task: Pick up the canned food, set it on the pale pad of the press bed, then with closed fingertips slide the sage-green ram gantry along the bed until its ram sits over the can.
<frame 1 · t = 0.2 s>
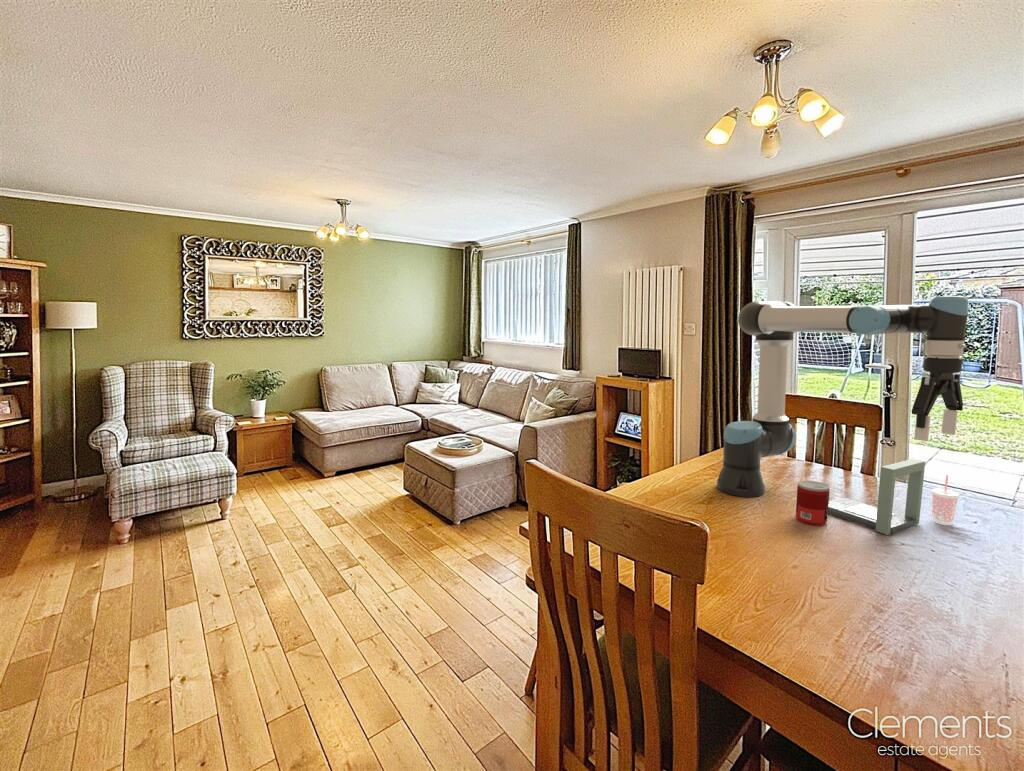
hand: (934, 437, 132), 28 cm above the table, fingers open, 13 cm apart
ram gantry: (900, 495, 139), point 9 cm above the table, slide at 0.0 cm
canned food: (811, 521, 147), on the table
press bed: (865, 517, 148), on the table
beverage cup: (942, 522, 144), on the table
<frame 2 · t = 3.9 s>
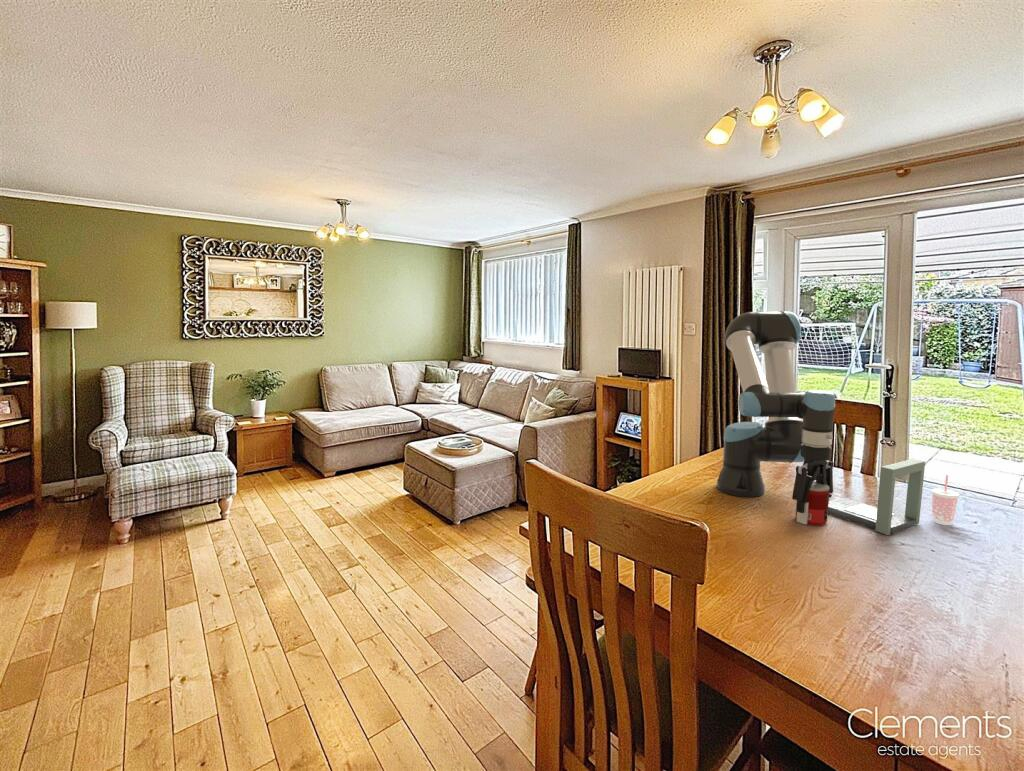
hand: (811, 519, 146), 0 cm above the table, fingers closed on canned food, 8 cm apart
canned food: (811, 521, 147), on the table, touching gripper
everything else where it was.
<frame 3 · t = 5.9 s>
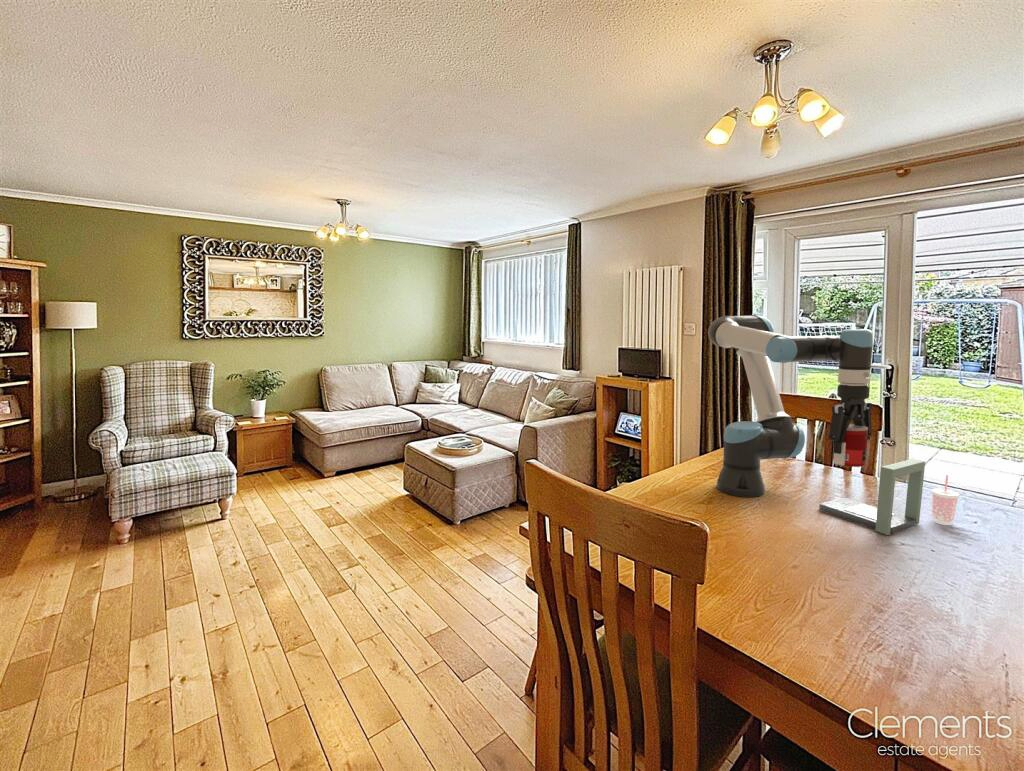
hand: (848, 462, 144), 18 cm above the table, fingers closed on canned food, 8 cm apart
canned food: (848, 464, 144), point 17 cm above the table, touching gripper
everything else where it was.
when the fingers open (4 cm above the table, at t = 8.3 s): canned food drops 1 cm, resting on press bed.
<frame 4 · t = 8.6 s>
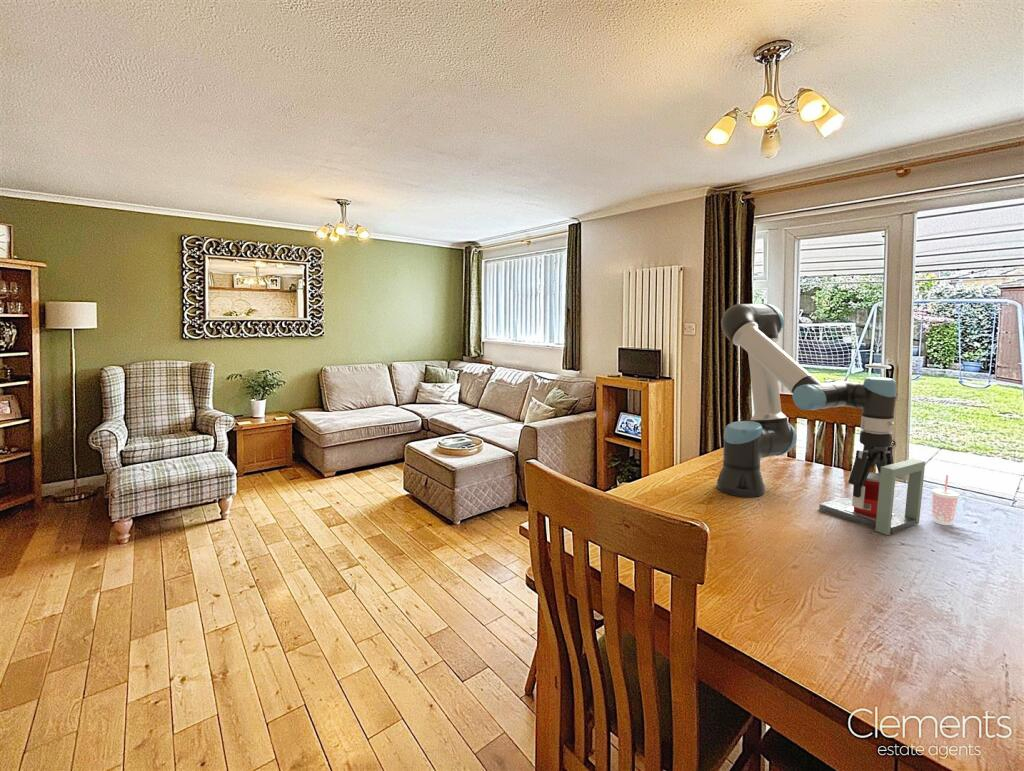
hand: (870, 503, 147), 5 cm above the table, fingers open, 11 cm apart
canned food: (869, 512, 147), point 2 cm above the table, touching press bed
everything else where it was.
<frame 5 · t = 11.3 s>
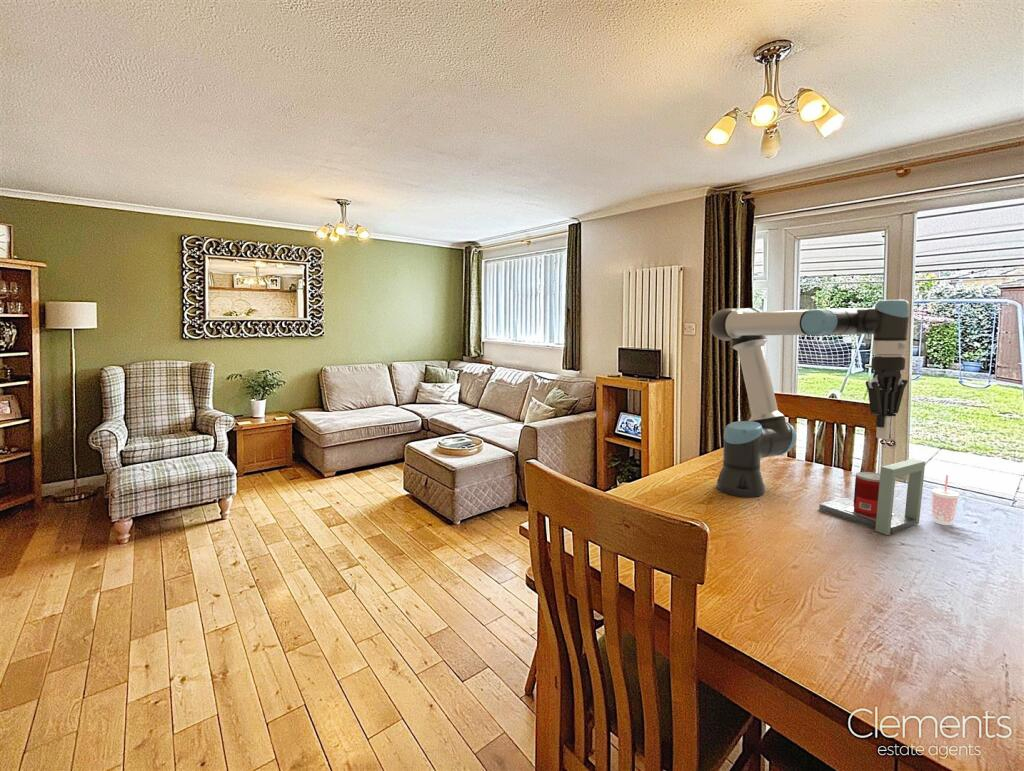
hand: (882, 438, 142), 25 cm above the table, fingers closed
nothing on the table moved.
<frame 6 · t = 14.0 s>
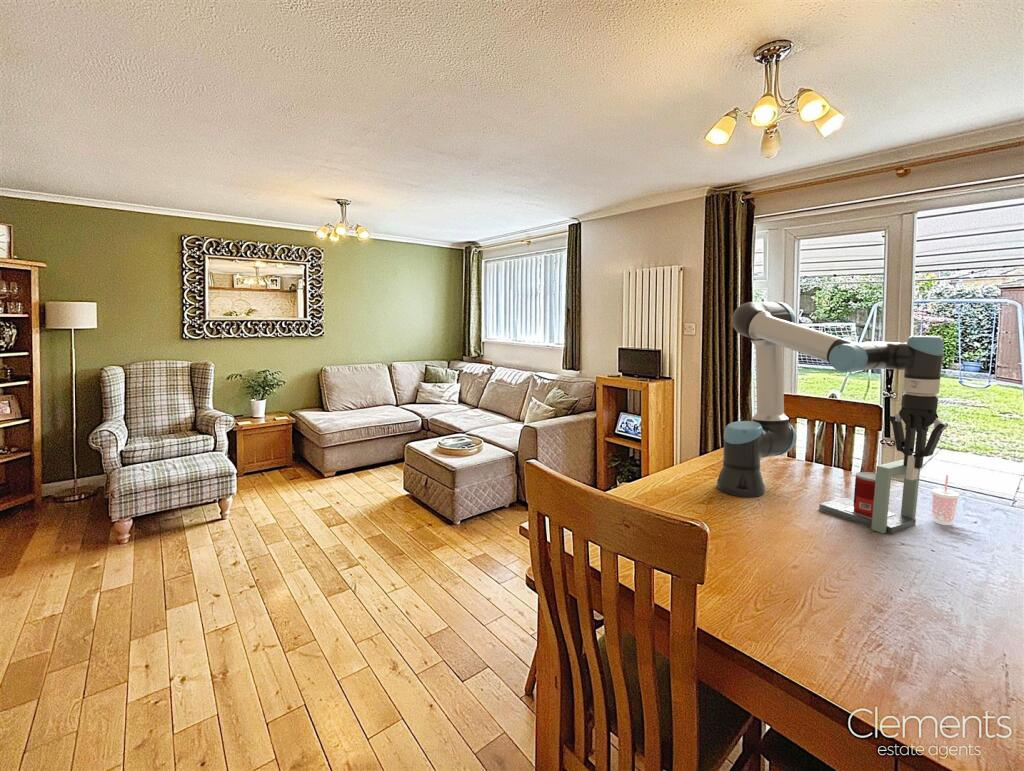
hand: (911, 478, 136), 15 cm above the table, fingers closed
ram gantry: (896, 494, 140), point 9 cm above the table, slide at 1.0 cm, touching gripper
everything else where it was.
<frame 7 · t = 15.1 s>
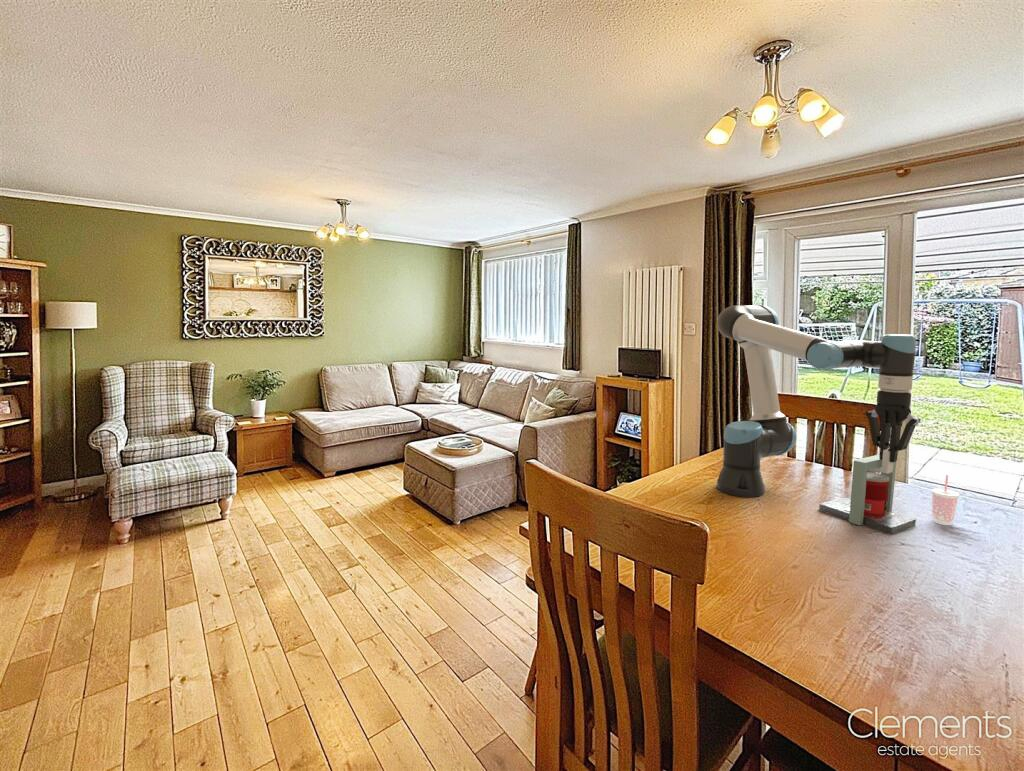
hand: (886, 472, 142), 15 cm above the table, fingers closed
ram gantry: (873, 488, 145), point 9 cm above the table, slide at 7.1 cm, touching gripper
everything else where it was.
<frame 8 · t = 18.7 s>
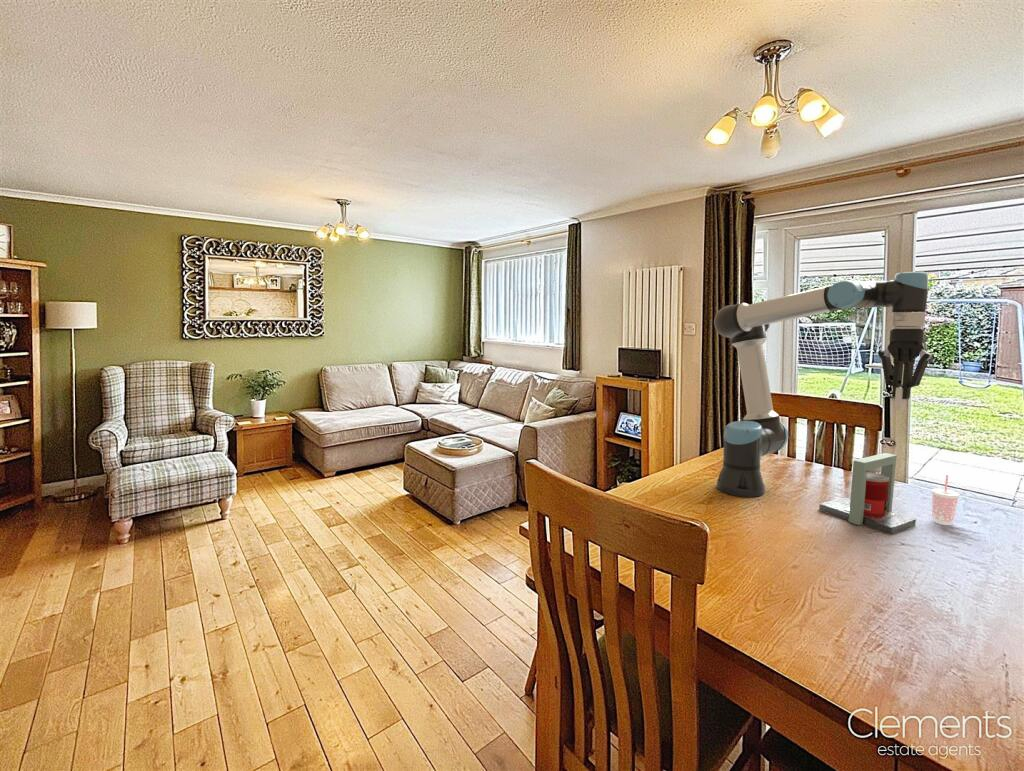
hand: (899, 409, 144), 32 cm above the table, fingers closed
ram gantry: (872, 488, 146), point 9 cm above the table, slide at 7.1 cm
everything else where it was.
at the end: canned food inside the target area on the press bed (0.0 cm from its centre), point 2.0 cm above the press bed's base; canned food tilted 0°; ram gantry slide at 7.1 cm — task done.
